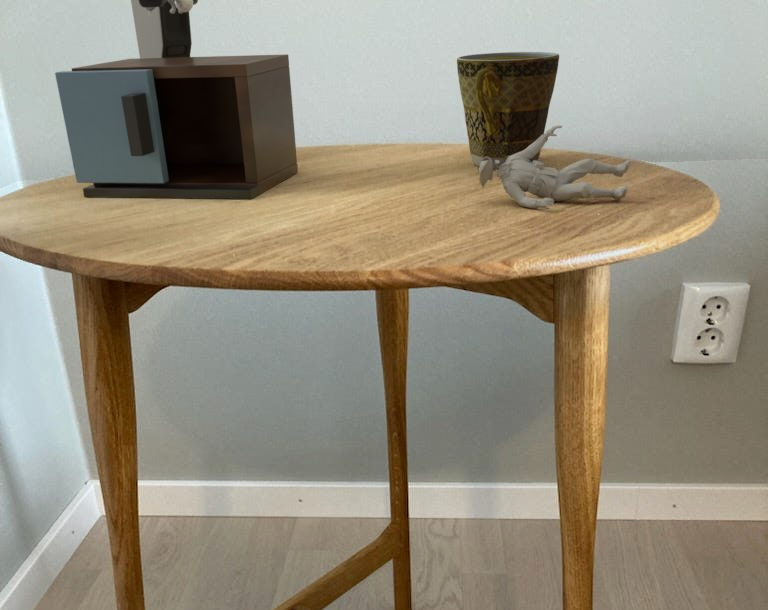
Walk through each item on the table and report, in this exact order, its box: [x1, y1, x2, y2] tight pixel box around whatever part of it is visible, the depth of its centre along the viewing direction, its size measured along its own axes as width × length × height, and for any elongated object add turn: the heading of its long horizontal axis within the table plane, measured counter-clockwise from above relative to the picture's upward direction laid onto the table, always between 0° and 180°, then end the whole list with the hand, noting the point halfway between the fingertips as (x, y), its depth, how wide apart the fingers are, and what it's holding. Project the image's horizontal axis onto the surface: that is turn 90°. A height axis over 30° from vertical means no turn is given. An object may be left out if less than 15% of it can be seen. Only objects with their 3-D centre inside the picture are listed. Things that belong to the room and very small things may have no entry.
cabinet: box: [71, 54, 299, 200], centre depth 88 cm, size 17×13×11 cm
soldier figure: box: [478, 124, 631, 210], centre depth 77 cm, size 8×5×12 cm
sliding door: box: [54, 69, 169, 184], centre depth 84 cm, size 9×4×10 cm, turn 76°
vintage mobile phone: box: [130, 0, 192, 58], centre depth 97 cm, size 4×5×25 cm
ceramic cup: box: [456, 51, 560, 170], centre depth 91 cm, size 13×10×10 cm
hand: (170, 5), depth 83 cm, fingers closed on dog figurine, 6 cm apart
